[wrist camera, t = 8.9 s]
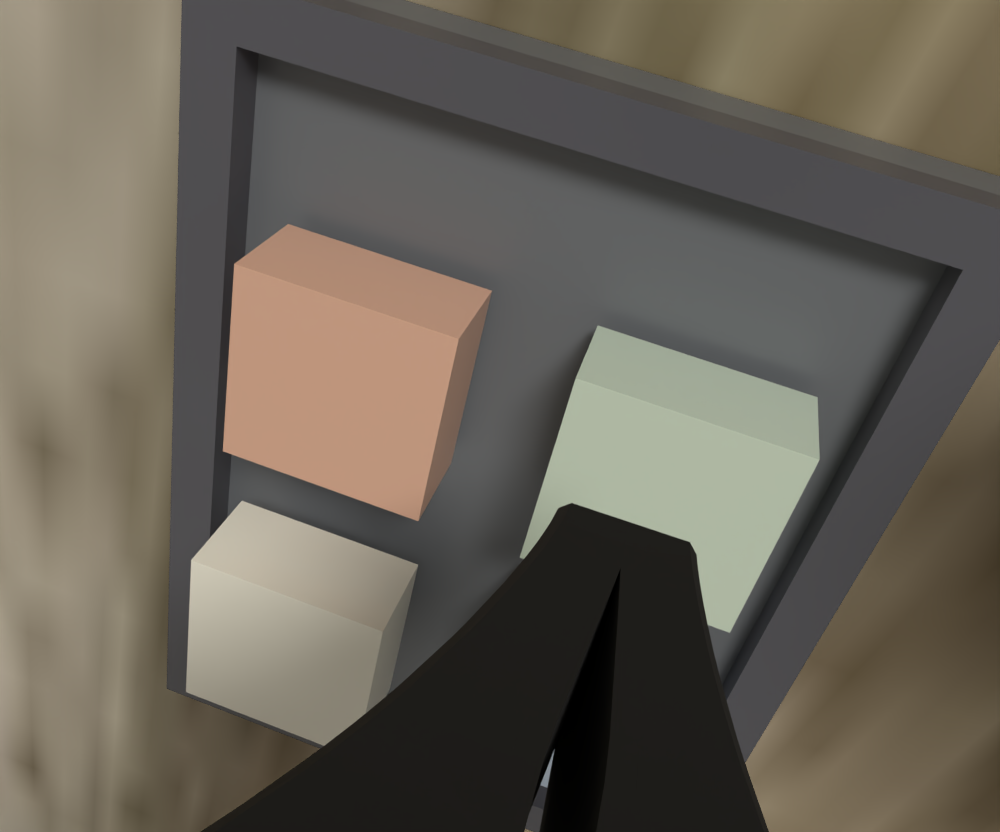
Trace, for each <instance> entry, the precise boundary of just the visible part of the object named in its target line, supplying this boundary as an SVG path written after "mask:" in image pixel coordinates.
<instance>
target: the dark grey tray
mask: <svg viewBox="0 0 1000 832" xmlns="http://www.w3.org/2000/svg"><path fill="white" fill-rule="evenodd" d="M288 224H290V225H293V226H296V227H299V228H302V229H305V230H308V231H311V232H314V233H317V234H320V235H323V236H326V237H329V238H332V239H336V240H339V241H342V242H345V243H348V244H351V245H354V246H357V247H360V248H363V249H366V250H369V251H372V252H375V253H378V254H381V255H384V256H387V257H391V258H394V259H397V260H400V261H403V262H406V263H409V264H412V265H415V266H418V267H421V268H424V269H427V270H430V271H433V272H436V273H439V274H442V275H445V276H449V277H452V278H455V279H458V280H461V281H464V282H467V283H470V284H473V285H476V286H479V287H482V288H485V289H488V290H491V291H492V293H491V297H490V301H489V306H488V310H487V314H486V318H485V323H484V327H483V331H482V335H481V339H480V344H479V348H478V352H477V356H476V360H475V365H474V369H473V373H472V377H471V382H470V386H469V390H468V394H467V398H466V403H465V407H464V411H463V415H462V420H461V424H460V428H459V432H458V436H457V441H456V445H455V449H454V453H453V458H452V462H451V464H450V466H449V468H448V470H447V471H446V473H445V475H444V477H443V478H442V480H441V482H440V484H439V486H438V487H437V489H436V491H435V493H434V494H433V496H432V498H431V500H430V501H429V503H428V505H427V507H426V509H425V510H424V512H423V514H422V516H421V517H420V519H419V521H416V520H413V519H411V518H408V517H405V516H402V515H399V514H397V513H394V512H391V511H388V510H385V509H383V508H380V507H377V506H374V505H371V504H369V503H366V502H363V501H360V500H357V499H355V498H352V497H349V496H346V495H344V494H341V493H338V492H335V491H332V490H330V489H327V488H324V487H321V486H318V485H316V484H313V483H310V482H307V481H304V480H302V479H299V478H296V477H293V476H290V475H288V474H285V473H282V472H279V471H276V470H274V469H271V468H268V467H265V466H263V465H260V464H257V463H254V462H251V461H249V460H246V459H243V458H240V457H237V456H235V455H232V454H229V453H226V452H223V441H224V424H225V408H226V391H227V375H228V358H229V342H230V325H231V309H232V292H233V276H234V264H235V263H236V262H237V261H239V260H240V259H241V258H243V257H244V256H246V255H247V254H248V253H250V252H251V251H252V250H254V249H255V248H256V247H258V246H259V245H260V244H262V243H263V242H264V241H266V240H267V239H269V238H270V237H271V236H273V235H274V234H275V233H277V232H278V231H279V230H281V229H282V228H283V227H285V226H286V225H288ZM597 326H601V327H604V328H607V329H610V330H614V331H617V332H620V333H623V334H626V335H629V336H632V337H635V338H638V339H641V340H644V341H647V342H650V343H653V344H656V345H659V346H662V347H665V348H668V349H672V350H675V351H678V352H681V353H684V354H687V355H690V356H693V357H696V358H699V359H702V360H705V361H708V362H711V363H714V364H717V365H720V366H723V367H727V368H730V369H733V370H736V371H739V372H742V373H745V374H748V375H751V376H754V377H757V378H760V379H763V380H766V381H769V382H772V383H775V384H778V385H781V386H785V387H788V388H791V389H794V390H797V391H800V392H803V393H806V394H809V395H812V396H815V397H818V425H819V453H820V460H819V462H818V464H817V466H816V468H815V470H814V472H813V474H812V475H811V477H810V479H809V481H808V483H807V485H806V487H805V489H804V491H803V493H802V495H801V497H800V499H799V501H798V502H797V504H796V506H795V508H794V510H793V512H792V514H791V516H790V518H789V520H788V522H787V524H786V526H785V527H784V529H783V531H782V533H781V535H780V537H779V539H778V541H777V543H776V545H775V547H774V549H773V551H772V553H771V554H770V556H769V558H768V560H767V562H766V564H765V566H764V568H763V570H762V572H761V574H760V576H759V578H758V579H757V581H756V583H755V585H754V587H753V589H752V591H751V593H750V595H749V597H748V599H747V601H746V603H745V605H744V606H743V608H742V610H741V612H740V614H739V616H738V618H737V620H736V622H735V624H734V626H733V628H732V630H731V631H730V633H729V632H726V631H723V630H721V629H718V628H715V627H712V626H710V625H708V628H709V633H710V637H711V642H712V646H713V651H714V655H715V659H716V663H717V667H718V671H719V675H720V679H721V683H722V686H723V690H724V693H725V697H726V700H727V704H728V707H729V711H730V714H731V718H732V722H733V725H734V729H735V732H736V736H737V739H738V742H739V745H740V749H741V752H742V755H743V758H744V761H745V762H746V760H747V759H748V757H749V755H750V754H751V752H752V750H753V749H754V747H755V745H756V744H757V742H758V740H759V739H760V737H761V735H762V734H763V732H764V730H765V729H766V727H767V725H768V724H769V722H770V720H771V719H772V717H773V716H774V714H775V712H776V711H777V709H778V707H779V706H780V704H781V702H782V701H783V699H784V697H785V696H786V694H787V692H788V691H789V689H790V687H791V686H792V684H793V682H794V681H795V679H796V677H797V676H798V674H799V672H800V671H801V669H802V667H803V666H804V664H805V662H806V661H807V659H808V657H809V656H810V654H811V652H812V651H813V649H814V647H815V646H816V644H817V642H818V641H819V639H820V637H821V636H822V634H823V632H824V631H825V629H826V627H827V626H828V624H829V622H830V621H831V619H832V618H833V616H834V614H835V613H836V611H837V609H838V608H839V606H840V604H841V603H842V601H843V599H844V598H845V596H846V594H847V593H848V591H849V589H850V588H851V586H852V584H853V583H854V581H855V579H856V578H857V576H858V574H859V573H860V571H861V569H862V568H863V566H864V564H865V563H866V561H867V559H868V558H869V556H870V554H871V553H872V551H873V549H874V548H875V546H876V544H877V543H878V541H879V539H880V538H881V536H882V534H883V533H884V531H885V529H886V528H887V526H888V524H889V523H890V521H891V520H892V518H893V516H894V515H895V513H896V511H897V510H898V508H899V506H900V505H901V503H902V501H903V500H904V498H905V496H906V495H907V493H908V491H909V490H910V488H911V486H912V485H913V483H914V481H915V480H916V478H917V476H918V475H919V473H920V471H921V470H922V468H923V466H924V465H925V463H926V461H927V460H928V458H929V456H930V455H931V453H932V451H933V450H934V448H935V446H936V445H937V443H938V441H939V440H940V438H941V436H942V435H943V433H944V431H945V430H946V428H947V426H948V425H949V423H950V422H951V420H952V418H953V417H954V415H955V413H956V412H957V410H958V408H959V407H960V405H961V403H962V402H963V400H964V398H965V397H966V395H967V393H968V392H969V390H970V388H971V387H972V385H973V383H974V382H975V380H976V378H977V377H978V375H979V373H980V372H981V370H982V368H983V367H984V365H985V363H986V362H987V360H988V358H989V357H990V355H991V353H992V352H993V350H994V348H995V347H996V345H997V343H998V342H999V340H1000V176H997V175H993V174H990V173H987V172H983V171H980V170H976V169H973V168H970V167H966V166H963V165H960V164H956V163H953V162H949V161H946V160H943V159H939V158H936V157H933V156H929V155H926V154H922V153H919V152H916V151H912V150H909V149H906V148H902V147H899V146H895V145H892V144H889V143H885V142H882V141H878V140H875V139H872V138H868V137H865V136H862V135H858V134H855V133H851V132H848V131H845V130H841V129H838V128H835V127H831V126H828V125H824V124H821V123H818V122H814V121H811V120H808V119H804V118H801V117H797V116H794V115H791V114H787V113H784V112H780V111H777V110H774V109H770V108H767V107H764V106H760V105H757V104H753V103H750V102H747V101H743V100H740V99H737V98H733V97H730V96H726V95H723V94H720V93H716V92H713V91H710V90H706V89H703V88H699V87H696V86H693V85H689V84H686V83H683V82H679V81H676V80H672V79H669V78H666V77H662V76H659V75H655V74H652V73H649V72H645V71H642V70H639V69H635V68H632V67H628V66H625V65H622V64H618V63H615V62H612V61H608V60H605V59H601V58H598V57H595V56H591V55H588V54H585V53H581V52H578V51H574V50H571V49H568V48H564V47H561V46H557V45H554V44H551V43H547V42H544V41H541V40H537V39H534V38H530V37H527V36H524V35H520V34H517V33H514V32H510V31H507V30H503V29H500V28H497V27H493V26H490V25H487V24H483V23H480V22H476V21H473V20H470V19H466V18H463V17H460V16H456V15H453V14H449V13H446V12H443V11H439V10H436V9H432V8H429V7H426V6H422V5H419V4H416V3H412V2H409V1H405V0H182V21H181V67H180V112H179V158H178V203H177V249H176V294H175V340H174V385H173V430H172V476H171V521H170V567H169V612H168V658H167V689H169V690H172V691H174V692H177V693H179V694H182V695H184V696H187V697H190V698H192V699H195V700H197V701H200V702H202V703H205V704H207V705H210V706H213V707H215V708H218V709H220V710H223V711H225V712H228V713H231V714H233V715H236V716H238V717H241V718H243V719H246V720H249V721H251V722H254V723H256V724H259V725H261V726H264V727H266V728H269V729H272V730H274V731H277V732H279V733H282V734H284V735H287V736H290V737H292V738H295V739H297V740H300V741H302V742H305V743H308V744H310V745H313V746H315V747H318V748H320V749H321V748H322V747H323V745H321V744H318V743H316V742H313V741H310V740H308V739H305V738H303V737H300V736H298V735H295V734H292V733H290V732H287V731H285V730H282V729H280V728H277V727H274V726H272V725H269V724H267V723H264V722H262V721H259V720H256V719H254V718H251V717H249V716H246V715H244V714H241V713H238V712H236V711H233V710H231V709H228V708H226V707H223V706H221V705H218V704H215V703H213V702H210V701H208V700H205V699H203V698H200V697H197V696H195V695H192V694H190V693H187V692H186V677H187V652H188V627H189V602H190V577H191V560H192V559H193V557H194V556H195V555H196V554H197V553H198V552H199V550H200V549H201V548H202V547H203V546H204V545H205V543H206V542H207V541H208V540H209V539H210V537H211V536H212V535H213V534H214V533H215V532H216V530H217V529H218V528H219V527H220V526H221V525H222V523H223V522H224V521H225V520H226V519H227V518H228V516H229V515H230V514H231V513H232V512H233V510H234V509H235V508H236V507H237V506H238V505H239V503H240V502H241V501H244V502H247V503H250V504H253V505H255V506H258V507H261V508H264V509H266V510H269V511H272V512H275V513H277V514H280V515H283V516H286V517H288V518H291V519H294V520H297V521H299V522H302V523H305V524H308V525H310V526H313V527H316V528H319V529H321V530H324V531H327V532H330V533H332V534H335V535H338V536H341V537H343V538H346V539H349V540H352V541H354V542H357V543H360V544H363V545H365V546H368V547H371V548H374V549H376V550H379V551H382V552H385V553H387V554H390V555H393V556H396V557H398V558H401V559H404V560H407V561H410V562H412V563H415V564H418V568H417V573H416V577H415V581H414V586H413V590H412V594H411V599H410V603H409V608H408V612H407V616H406V621H405V625H404V629H403V634H402V638H401V642H400V647H399V651H398V655H397V660H396V664H395V668H394V673H393V677H392V682H391V686H390V689H389V691H388V693H387V695H388V694H389V693H391V692H392V691H393V690H394V689H395V688H396V687H398V686H399V685H400V684H401V683H402V682H403V681H404V680H405V679H407V678H408V677H409V676H410V675H411V674H412V673H413V672H414V671H415V670H416V669H417V668H419V667H420V666H421V665H422V664H423V663H424V662H425V661H426V660H427V659H428V658H429V657H430V656H432V655H433V654H434V653H435V652H436V651H437V650H438V649H439V648H440V647H441V646H442V645H444V644H445V643H446V642H447V641H448V640H449V639H450V638H451V637H452V636H453V635H454V634H455V633H456V632H457V631H458V630H459V629H460V628H461V627H462V626H463V625H464V624H465V623H466V622H467V621H468V620H469V619H470V618H471V617H472V616H473V615H474V614H475V613H476V612H477V611H478V610H479V609H480V607H481V606H482V605H483V604H484V603H485V602H486V601H487V600H488V599H489V598H490V597H491V596H492V595H493V594H494V593H495V592H496V590H497V589H498V588H499V587H500V586H501V585H502V584H503V583H504V582H505V581H506V580H507V579H508V577H509V576H510V575H511V574H512V573H513V571H514V570H515V569H516V568H517V567H518V565H519V564H520V563H521V562H522V561H523V559H522V558H520V555H521V552H522V548H523V545H524V542H525V539H526V536H527V532H528V529H529V526H530V523H531V520H532V516H533V513H534V510H535V507H536V504H537V500H538V497H539V494H540V491H541V488H542V484H543V481H544V478H545V475H546V472H547V468H548V465H549V462H550V459H551V456H552V452H553V449H554V446H555V443H556V440H557V436H558V433H559V430H560V427H561V424H562V420H563V417H564V414H565V411H566V408H567V404H568V401H569V398H570V395H571V392H572V388H573V385H574V382H575V379H576V376H577V374H578V371H579V369H580V367H581V364H582V362H583V359H584V357H585V355H586V352H587V350H588V348H589V345H590V343H591V340H592V338H593V336H594V333H595V331H596V328H597ZM546 793H547V788H546V787H544V786H541V785H540V787H539V790H538V792H537V795H536V798H535V800H534V803H533V805H532V808H531V810H530V813H529V815H528V819H527V823H526V827H525V829H528V830H531V831H533V832H539V831H540V825H541V820H542V814H543V809H544V803H545V798H546Z"/></svg>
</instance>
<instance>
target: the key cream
mask: <svg viewBox="0 0 1000 832" xmlns="http://www.w3.org/2000/svg"><path fill="white" fill-rule="evenodd" d="M417 568H418V564H415V563H412V562H410V561H407V560H404V559H401V558H398V557H396V556H393V555H390V554H387V553H385V552H382V551H379V550H376V549H374V548H371V547H368V546H365V545H363V544H360V543H357V542H354V541H352V540H349V539H346V538H343V537H341V536H338V535H335V534H332V533H330V532H327V531H324V530H321V529H319V528H316V527H313V526H310V525H308V524H305V523H302V522H299V521H297V520H294V519H291V518H288V517H286V516H283V515H280V514H277V513H275V512H272V511H269V510H266V509H264V508H261V507H258V506H255V505H253V504H250V503H247V502H244V501H241V502H240V503H239V505H238V506H237V507H236V508H235V509H234V510H233V512H232V513H231V514H230V515H229V516H228V518H227V519H226V520H225V521H224V522H223V523H222V525H221V526H220V527H219V528H218V529H217V530H216V532H215V533H214V534H213V535H212V536H211V537H210V539H209V540H208V541H207V542H206V543H205V545H204V546H203V547H202V548H201V549H200V550H199V552H198V553H197V554H196V555H195V556H194V557H193V559H192V560H191V577H190V602H189V627H188V652H187V677H186V692H187V693H190V694H192V695H195V696H197V697H200V698H203V699H205V700H208V701H210V702H213V703H215V704H218V705H221V706H223V707H226V708H228V709H231V710H233V711H236V712H238V713H241V714H244V715H246V716H249V717H251V718H254V719H256V720H259V721H262V722H264V723H267V724H269V725H272V726H274V727H277V728H280V729H282V730H285V731H287V732H290V733H292V734H295V735H298V736H300V737H303V738H305V739H308V740H310V741H313V742H316V743H318V744H321V745H323V746H325V745H326V744H327V743H328V742H330V741H331V740H332V739H334V738H335V737H336V736H338V735H339V734H340V733H341V732H343V731H344V730H345V729H347V728H348V727H349V726H350V725H352V724H353V723H354V722H356V721H357V720H358V719H359V718H360V717H362V716H363V715H364V714H365V713H367V712H368V711H369V710H370V709H372V708H373V707H374V706H375V705H376V704H378V703H379V702H380V701H381V700H382V699H383V698H385V697H386V696H387V693H388V691H389V689H390V686H391V682H392V677H393V673H394V668H395V664H396V660H397V655H398V651H399V647H400V642H401V638H402V634H403V629H404V625H405V621H406V616H407V612H408V608H409V603H410V599H411V594H412V590H413V586H414V581H415V577H416V573H417Z"/></svg>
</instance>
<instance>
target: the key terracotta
mask: <svg viewBox="0 0 1000 832" xmlns="http://www.w3.org/2000/svg"><path fill="white" fill-rule="evenodd" d="M491 293H492V291H491V290H488V289H485V288H482V287H479V286H476V285H473V284H470V283H467V282H464V281H461V280H458V279H455V278H452V277H449V276H445V275H442V274H439V273H436V272H433V271H430V270H427V269H424V268H421V267H418V266H415V265H412V264H409V263H406V262H403V261H400V260H397V259H394V258H391V257H387V256H384V255H381V254H378V253H375V252H372V251H369V250H366V249H363V248H360V247H357V246H354V245H351V244H348V243H345V242H342V241H339V240H336V239H332V238H329V237H326V236H323V235H320V234H317V233H314V232H311V231H308V230H305V229H302V228H299V227H296V226H293V225H290V224H288V225H286V226H285V227H283V228H282V229H281V230H279V231H278V232H277V233H275V234H274V235H273V236H271V237H270V238H269V239H267V240H266V241H264V242H263V243H262V244H260V245H259V246H258V247H256V248H255V249H254V250H252V251H251V252H250V253H248V254H247V255H246V256H244V257H243V258H241V259H240V260H239V261H237V262H236V263H235V264H234V276H233V292H232V309H231V325H230V342H229V358H228V375H227V391H226V408H225V424H224V441H223V452H226V453H229V454H232V455H235V456H237V457H240V458H243V459H246V460H249V461H251V462H254V463H257V464H260V465H263V466H265V467H268V468H271V469H274V470H276V471H279V472H282V473H285V474H288V475H290V476H293V477H296V478H299V479H302V480H304V481H307V482H310V483H313V484H316V485H318V486H321V487H324V488H327V489H330V490H332V491H335V492H338V493H341V494H344V495H346V496H349V497H352V498H355V499H357V500H360V501H363V502H366V503H369V504H371V505H374V506H377V507H380V508H383V509H385V510H388V511H391V512H394V513H397V514H399V515H402V516H405V517H408V518H411V519H413V520H416V521H419V519H420V517H421V516H422V514H423V512H424V510H425V509H426V507H427V505H428V503H429V501H430V500H431V498H432V496H433V494H434V493H435V491H436V489H437V487H438V486H439V484H440V482H441V480H442V478H443V477H444V475H445V473H446V471H447V470H448V468H449V466H450V464H451V462H452V458H453V453H454V449H455V445H456V441H457V436H458V432H459V428H460V424H461V420H462V415H463V411H464V407H465V403H466V398H467V394H468V390H469V386H470V382H471V377H472V373H473V369H474V365H475V360H476V356H477V352H478V348H479V344H480V339H481V335H482V331H483V327H484V323H485V318H486V314H487V310H488V306H489V301H490V297H491Z"/></svg>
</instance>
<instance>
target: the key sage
mask: <svg viewBox="0 0 1000 832" xmlns="http://www.w3.org/2000/svg"><path fill="white" fill-rule="evenodd" d="M819 460H820V453H819V425H818V397H815V396H812V395H809V394H806V393H803V392H800V391H797V390H794V389H791V388H788V387H785V386H781V385H778V384H775V383H772V382H769V381H766V380H763V379H760V378H757V377H754V376H751V375H748V374H745V373H742V372H739V371H736V370H733V369H730V368H727V367H723V366H720V365H717V364H714V363H711V362H708V361H705V360H702V359H699V358H696V357H693V356H690V355H687V354H684V353H681V352H678V351H675V350H672V349H668V348H665V347H662V346H659V345H656V344H653V343H650V342H647V341H644V340H641V339H638V338H635V337H632V336H629V335H626V334H623V333H620V332H617V331H614V330H610V329H607V328H604V327H601V326H597V328H596V331H595V333H594V336H593V338H592V340H591V343H590V345H589V348H588V350H587V352H586V355H585V357H584V359H583V362H582V364H581V367H580V369H579V371H578V374H577V376H576V379H575V382H574V385H573V388H572V392H571V395H570V398H569V401H568V404H567V408H566V411H565V414H564V417H563V420H562V424H561V427H560V430H559V433H558V436H557V440H556V443H555V446H554V449H553V452H552V456H551V459H550V462H549V465H548V468H547V472H546V475H545V478H544V481H543V484H542V488H541V491H540V494H539V497H538V500H537V504H536V507H535V510H534V513H533V516H532V520H531V523H530V526H529V529H528V532H527V536H526V539H525V542H524V545H523V548H522V552H521V555H520V558H522V559H524V558H525V557H526V556H527V554H528V553H529V552H530V551H531V549H532V548H533V547H534V545H535V544H536V543H537V541H538V540H539V539H540V537H541V536H542V534H543V533H544V531H545V530H546V528H547V527H548V525H549V524H550V522H551V521H552V519H553V517H554V515H555V513H556V511H557V509H558V508H559V507H562V506H565V505H567V504H570V503H574V504H577V505H580V506H583V507H586V508H589V509H592V510H595V511H598V512H601V513H604V514H607V515H610V516H613V517H616V518H619V519H622V520H625V521H628V522H631V523H634V524H637V525H640V526H643V527H646V528H649V529H652V530H655V531H658V532H661V533H664V534H667V535H670V536H673V537H676V538H679V539H682V540H685V541H688V542H690V543H691V545H692V547H693V549H694V551H695V552H696V554H697V564H698V572H699V579H700V586H701V592H702V598H703V603H704V609H705V614H706V619H707V624H708V625H710V626H712V627H715V628H718V629H721V630H723V631H726V632H729V633H730V631H731V630H732V628H733V626H734V624H735V622H736V620H737V618H738V616H739V614H740V612H741V610H742V608H743V606H744V605H745V603H746V601H747V599H748V597H749V595H750V593H751V591H752V589H753V587H754V585H755V583H756V581H757V579H758V578H759V576H760V574H761V572H762V570H763V568H764V566H765V564H766V562H767V560H768V558H769V556H770V554H771V553H772V551H773V549H774V547H775V545H776V543H777V541H778V539H779V537H780V535H781V533H782V531H783V529H784V527H785V526H786V524H787V522H788V520H789V518H790V516H791V514H792V512H793V510H794V508H795V506H796V504H797V502H798V501H799V499H800V497H801V495H802V493H803V491H804V489H805V487H806V485H807V483H808V481H809V479H810V477H811V475H812V474H813V472H814V470H815V468H816V466H817V464H818V462H819Z"/></svg>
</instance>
